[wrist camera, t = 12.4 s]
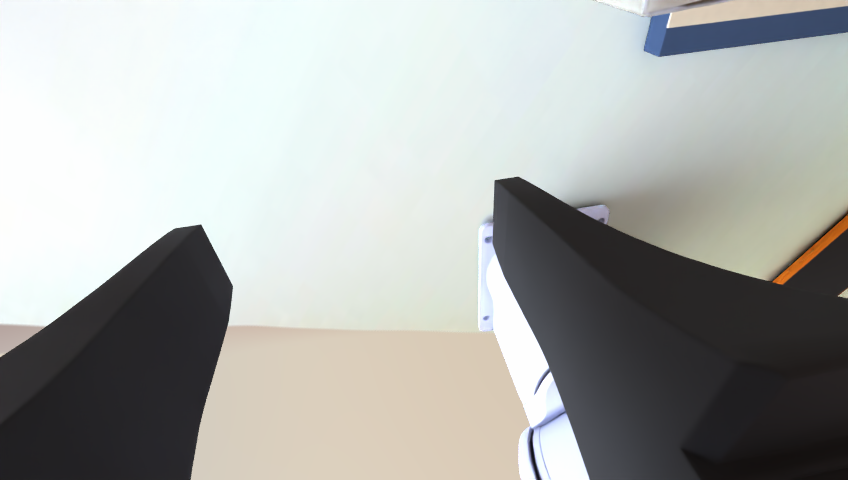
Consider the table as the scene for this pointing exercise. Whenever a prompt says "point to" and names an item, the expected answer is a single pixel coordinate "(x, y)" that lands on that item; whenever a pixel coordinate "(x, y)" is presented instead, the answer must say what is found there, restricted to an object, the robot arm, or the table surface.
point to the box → (658, 5)
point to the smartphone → (822, 264)
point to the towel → (744, 24)
